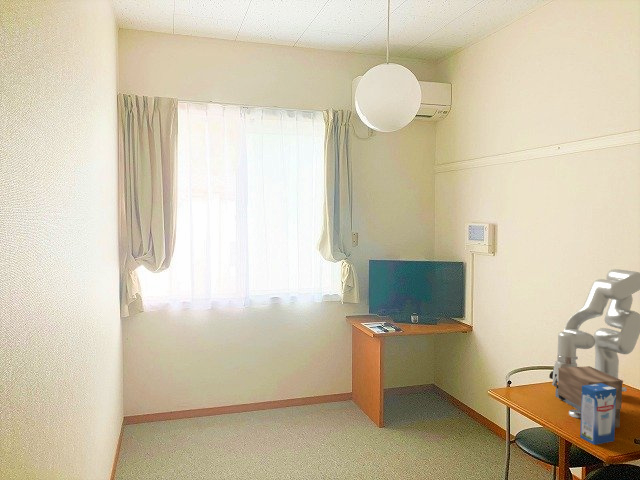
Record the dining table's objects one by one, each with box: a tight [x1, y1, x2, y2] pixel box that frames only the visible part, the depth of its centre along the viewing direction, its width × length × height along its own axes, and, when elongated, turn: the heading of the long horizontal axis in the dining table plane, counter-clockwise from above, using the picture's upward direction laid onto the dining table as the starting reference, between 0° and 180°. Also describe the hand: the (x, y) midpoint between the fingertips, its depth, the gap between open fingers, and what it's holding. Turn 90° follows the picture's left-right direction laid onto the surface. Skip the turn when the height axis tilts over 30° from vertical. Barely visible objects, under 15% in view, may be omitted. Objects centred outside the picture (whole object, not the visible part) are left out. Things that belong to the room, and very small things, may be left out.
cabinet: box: [557, 366, 624, 429], centre depth 199 cm, size 15×19×19 cm
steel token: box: [568, 409, 581, 419], centre depth 203 cm, size 6×6×2 cm
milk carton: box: [579, 383, 616, 446], centre depth 181 cm, size 10×6×20 cm, turn 108°
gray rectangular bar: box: [555, 387, 581, 411], centre depth 215 cm, size 3×20×4 cm, turn 8°
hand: (565, 398), depth 220 cm, fingers closed on gray rectangular bar, 2 cm apart
